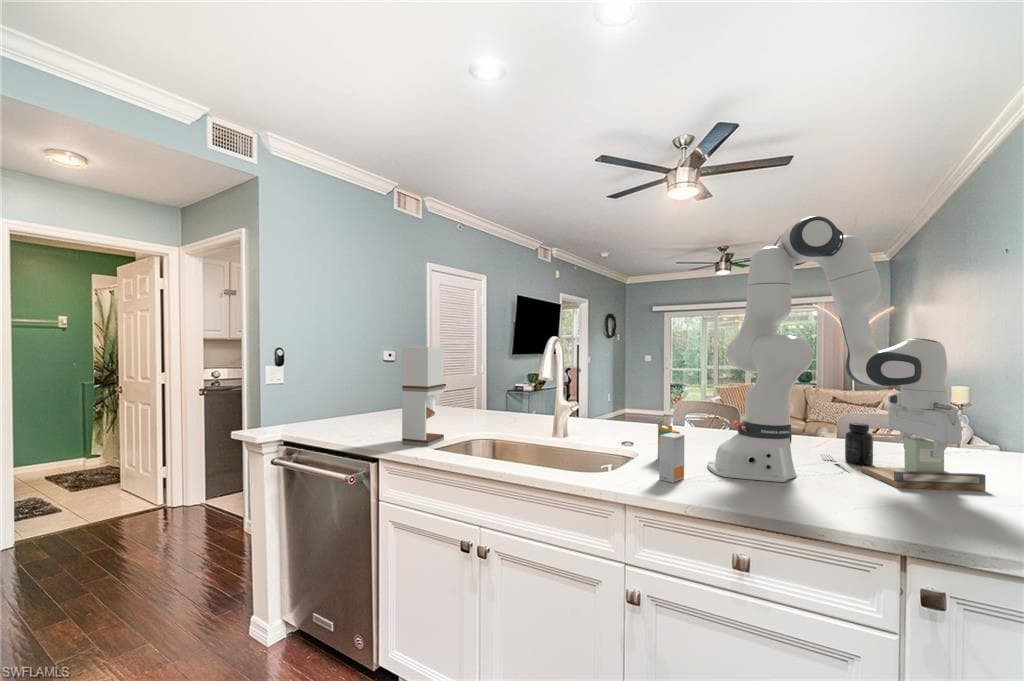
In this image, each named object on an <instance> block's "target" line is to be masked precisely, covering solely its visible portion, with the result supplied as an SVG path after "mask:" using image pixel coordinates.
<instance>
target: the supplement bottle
mask: <svg viewBox="0 0 1024 681" xmlns="http://www.w3.org/2000/svg"><path fill="white" fill-rule="evenodd" d="M869 427H870V424H869V423H868V424H867V423H861V422H849V423H848V430H849V431H846V432H845V434H844V460H845V462H846V463H847V462H848V464H850V463H851V465H855V464H856V465H855V466H862V465H864V466H863V467H871V466H872V465H874V436H873V435H872V434H871V433H869V432H870V429H869ZM870 465H871V466H870Z"/></svg>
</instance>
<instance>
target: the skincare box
mask: <svg viewBox="0 0 1024 681" xmlns="http://www.w3.org/2000/svg"><path fill="white" fill-rule="evenodd" d="M658 460H659V463H658V464H659V465H658V467H659V468H658V475H659V476H658V479H659V480H661V481H664V482H668V483H671V484H672V483H676V482H678V481H681V480H684V479H685V434H683V433H680V434H676V433H667V434H664V435H660V445H659V459H658Z"/></svg>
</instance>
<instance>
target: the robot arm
mask: <svg viewBox="0 0 1024 681" xmlns="http://www.w3.org/2000/svg"><path fill="white" fill-rule="evenodd" d="M812 261H814V262H815V263H817V264H818V265H819V266H820V267H821V268H822V270H823V272H824V274H825V278H826V282H827V284H828V287H829V291H830V293H831V297H832V299H833V301H834V304H835V307H836V309H837V312H838V316H839V320H840V324H841V329H842V332H843V336H844V337H843V338H844V339H845V344H846V349H847V357H846V363H845V370H846V373H847V375H848V376H849V378H850V379H851V380H852V381H853V382H855V383H857V384H859V385H863V386H876V387H883V388H890V387H896V386H900V391H899V392H897V393H894V394H891V395H888V397H887V402H888V404H890V405H889V407H888V425H889V428H890V429H891V430H894V431H898V432H899V433H900V434H899V435H900V438H901V440H902V443H903V449H904V450H905V438H913V436H916V437H919V438H923V439H930V440H934V443H933V444H934V445H935V447H934V450H933V451H930V453H931V455H930V456H931V457H932V458H934V459H943V452H944V453H945V451H946V449H947V448H948V445H960V443H961V442H962V439H963V434H962V433H963V432H962V424H961V419H960V416H959V414H958V411H957V410H956V409H955V408H954V407H953V406H952V405H950V404H947V403H948V402H947V398H948V397H947V396H948V394H947V393H948V389H947V387H946V377H947V375H948V360H947V352H946V348H945V346H944V345H943V343H941V342H939V341H937V340H933V339H928V338H919V337H910V338H906V339H905V340H903V341H902V342H899V343H898V344H895V345H893V346H890V347H887V348H883V349H878V347H877V346H876V344H875V340H874V337H873V333H872V329H871V325H870V321H869V314H870V311H871V308H872V307H873V306H874V304H875V303H876V301H877V300H878V299H879V297H880V295H881V294H882V286H881V285H882V284H881V278H880V275H879V272H878V268H877V266H876V264H875V261H874V258H873V256H872V254H871V252H870V251H869V249H868V247H867V244H865V242H864V240H862V238H860V237H859V236H857V235H854V234H853V235H852V234H845V235H844V233H843V231H841V230H840V229H839V228H838V227H837V226H836V225H835V224H834V222H833V221H831V220H830V219H829V218H826V217H824V216H819V215H814V216H808V217H805V218H803V219H800V220H798V221H797V222H796V223H795V224H793V225H791V226H790V227H788V228H787V229H786V230H785V231H784V232H783V233H782V234H781V235H780V236H779V237H778V239H777V240H776V242H775V244H774V245H770V246H764V247H762V248H760V249H758V250H756V251H755V252H754V253H753V254H752V257H751V260H750V265H749V269H748V275H747V276H748V277H747V286H746V287H747V288H746V290H747V291H746V294H747V295H746V304H745V305H746V307H745V314H744V318H743V320H742V324H741V326H740V329H739V331H738V333H737V334H736V336H735V337H734V338H733V339H732V340H731V341H730V342H729V344H728V346H727V348H726V358H727V361H728V362H729V363H730V365H731V366H733V367H734V368H736V369H739V370H742V371H744V372H749V373H757V377H756V380H755V382H754V385H753V386H752V387H751V388H749V389H748V390H747V391H746V392H745V396H744V420H742V421H741V422H739V421H737V420H733V421H732V423H731V426H732V427H733V428H735V429H737V433H736V434H735V435H733V436H732V437H730V438H729V439H727V440H726V441H724V442H723V443H720V444H719V446H718V448H717V450H716V454H715V459H714V460H710V461H708V462H707V468H708V470H709V471H711V472H712V473H714V474H715V475H717V476H721V477H724V478H731V479H733V478H734V479H741V480H742V479H744V480H752V481H754V480H755V481H765V482H776V483H785V482H787V481H788V480H791V479H794V478H796V477H797V472H796V468H795V465H794V462H793V457H792V456H793V454H792V451H791V450H792V449H791V448H792V447H791V444H792V438H793V437H792V436H793V435H792V431H793V430H792V424H791V423H790V415H791V414H790V412H791V411H790V409H791V408H790V406H791V396H792V393H793V392H792V391H793V389H794V386H795V384H796V382H797V380H798V379H799V378H800V376H801V375H802V374H803V373H804V372H806V371H807V370H808V369H809V368H810V367H811V365H812V363H813V359H814V351H813V348H812V346H811V344H810V343H809V342H808V340H806V339H805V338H803V337H798V336H796V335H791V334H785V333H784V334H777V332H778V329H779V327H780V325H781V323H782V322H783V321H784V320H785V319H786V318H788V317H789V316H790V314H791V311H792V294H793V291H792V290H793V272H794V269H795V267H797V266H801V265H804V264H806V263H808V262H812Z"/></svg>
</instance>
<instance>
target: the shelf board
mask: <svg viewBox="0 0 1024 681" xmlns="http://www.w3.org/2000/svg"><path fill="white" fill-rule="evenodd" d="M863 472H864V473H863ZM861 473H863V474H865V473H866V474H865V475H867V474H869V475H868V476H870V475H871V476H870V477H872V476H873V477H872V478H874V477H875V478H874V479H876V478H878V479H880V480H879V481H881V480H882V481H881V482H883V481H884V482H883V483H885V482H886V483H885V484H887V483H888V485H889V486H892V487H894V486H895V488H896V489H917V488H930V489H929V490H943V489H954V490H953V491H969V490H985V491H986V474H983V473H969V472H949V471H946V470H944V473H943V472H913V471H905V467H882V466H881V467H880V466H861ZM878 479H877V480H878ZM931 488H932V489H931Z"/></svg>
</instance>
